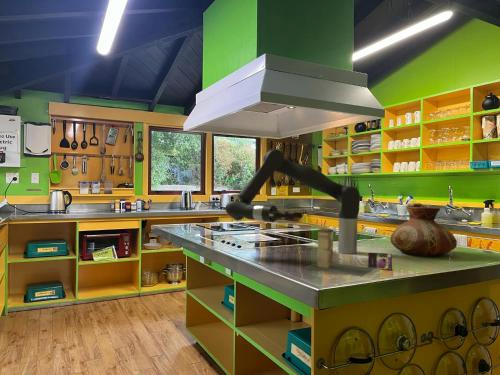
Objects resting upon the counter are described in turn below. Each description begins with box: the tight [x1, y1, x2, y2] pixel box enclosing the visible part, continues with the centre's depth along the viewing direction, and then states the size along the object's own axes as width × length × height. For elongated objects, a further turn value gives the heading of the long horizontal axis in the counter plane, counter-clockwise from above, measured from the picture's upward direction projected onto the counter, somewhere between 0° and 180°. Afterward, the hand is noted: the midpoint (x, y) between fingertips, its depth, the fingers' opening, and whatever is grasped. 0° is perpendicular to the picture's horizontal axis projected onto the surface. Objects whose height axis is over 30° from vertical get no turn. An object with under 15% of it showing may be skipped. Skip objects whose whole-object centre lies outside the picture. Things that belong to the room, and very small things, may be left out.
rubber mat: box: [303, 261, 374, 277], centre depth 150 cm, size 16×24×1 cm
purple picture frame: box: [367, 252, 393, 271], centre depth 154 cm, size 7×5×9 cm
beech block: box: [317, 228, 334, 268], centre depth 153 cm, size 6×4×15 cm, turn 146°
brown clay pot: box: [389, 202, 458, 258], centre depth 189 cm, size 30×30×25 cm
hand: (297, 215), depth 160 cm, fingers open, 7 cm apart
